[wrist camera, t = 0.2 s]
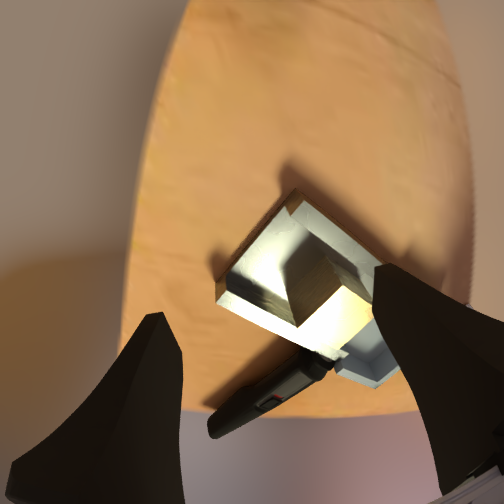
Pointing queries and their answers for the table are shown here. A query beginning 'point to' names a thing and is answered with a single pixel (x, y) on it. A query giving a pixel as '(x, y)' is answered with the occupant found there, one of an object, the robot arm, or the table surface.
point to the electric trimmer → (269, 391)
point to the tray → (367, 358)
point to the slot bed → (291, 268)
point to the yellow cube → (330, 304)
